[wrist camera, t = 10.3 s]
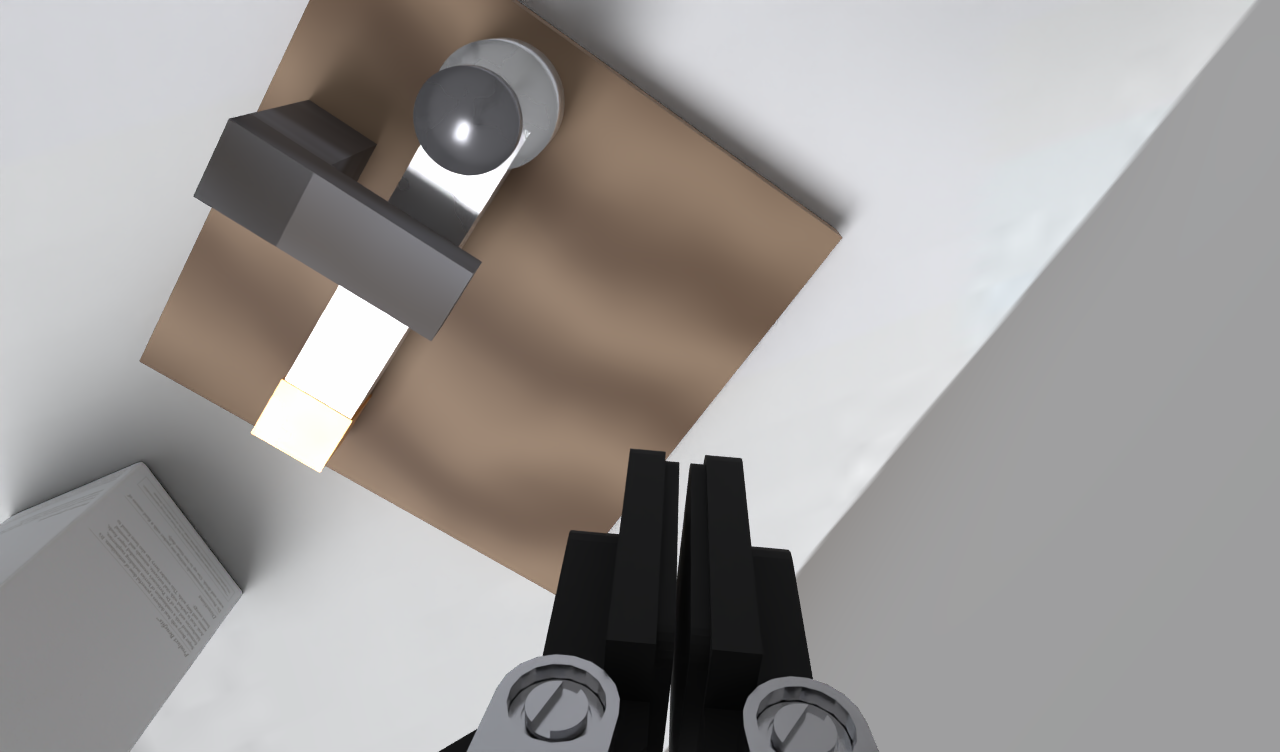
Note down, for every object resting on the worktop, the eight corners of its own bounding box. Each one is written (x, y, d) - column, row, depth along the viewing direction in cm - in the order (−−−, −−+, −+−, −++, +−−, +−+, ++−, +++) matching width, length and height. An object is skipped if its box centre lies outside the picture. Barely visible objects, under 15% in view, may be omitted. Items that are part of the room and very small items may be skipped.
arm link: (489, 11, 31) (438, 11, 24) (588, 84, 32) (566, 103, 25) (270, 394, 38) (179, 480, 31) (357, 445, 39) (288, 540, 32)
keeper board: (374, -103, 31) (284, -138, 24) (835, 229, 36) (878, 284, 28) (158, 349, 39) (39, 427, 32) (560, 577, 43) (538, 692, 36)
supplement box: (2, 515, 43) (-311, 752, 29) (145, 455, 41) (-116, 677, 28) (113, 646, 46) (-123, 915, 32) (249, 596, 44) (62, 857, 31)
